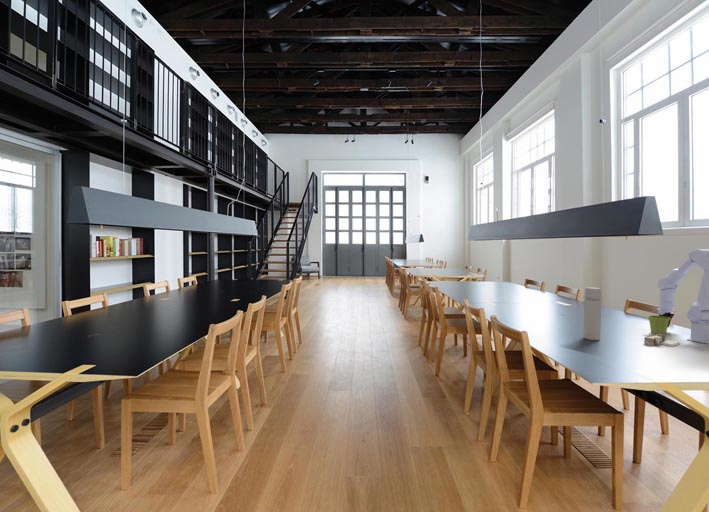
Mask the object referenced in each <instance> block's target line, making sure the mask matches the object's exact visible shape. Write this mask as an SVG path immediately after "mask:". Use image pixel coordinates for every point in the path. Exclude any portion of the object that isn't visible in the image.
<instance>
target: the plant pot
mask: <svg viewBox="0 0 709 512" xmlns="http://www.w3.org/2000/svg"><path fill="white" fill-rule="evenodd" d="M647 318H648V320H649V326H650V327H649V328H650V333H651V334H654V335H657V334H662V335H665V336H666V335H667V331H668V328H669V327H668V322H669V320H670V319H671V318H669V317H665V316H659V315H653V314H651V315H650V314H649V315H647ZM671 320H672V319H671Z"/></svg>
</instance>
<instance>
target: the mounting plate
mask: <svg viewBox="0 0 709 512" xmlns="http://www.w3.org/2000/svg"><path fill="white" fill-rule="evenodd" d="M662 344H663V346H667V345H668V347H672V346H673V347H675V345H676V346H678V345H680V344H681V342H680V341H679V340H678V341H676V340H672V339H668V340H665V341H664V342H662V343H661V345H662Z"/></svg>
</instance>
